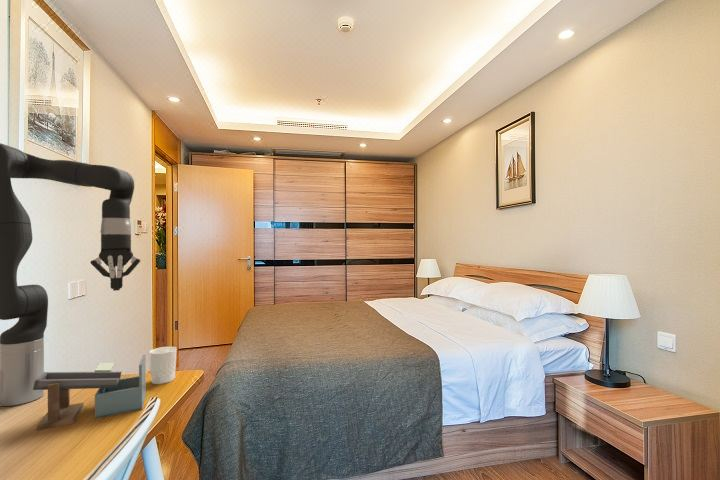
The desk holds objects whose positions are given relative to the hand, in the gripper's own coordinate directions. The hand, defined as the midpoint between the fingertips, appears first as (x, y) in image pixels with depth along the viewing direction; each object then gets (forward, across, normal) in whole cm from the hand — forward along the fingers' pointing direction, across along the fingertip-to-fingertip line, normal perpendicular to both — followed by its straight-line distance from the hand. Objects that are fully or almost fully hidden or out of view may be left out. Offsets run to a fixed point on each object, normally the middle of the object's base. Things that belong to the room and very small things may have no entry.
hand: (116, 290), depth 105 cm
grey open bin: (+31, -3, +12) cm, 33 cm away
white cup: (+31, -12, -4) cm, 34 cm away
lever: (+23, +6, +8) cm, 25 cm away
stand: (+31, +11, +12) cm, 35 cm away
